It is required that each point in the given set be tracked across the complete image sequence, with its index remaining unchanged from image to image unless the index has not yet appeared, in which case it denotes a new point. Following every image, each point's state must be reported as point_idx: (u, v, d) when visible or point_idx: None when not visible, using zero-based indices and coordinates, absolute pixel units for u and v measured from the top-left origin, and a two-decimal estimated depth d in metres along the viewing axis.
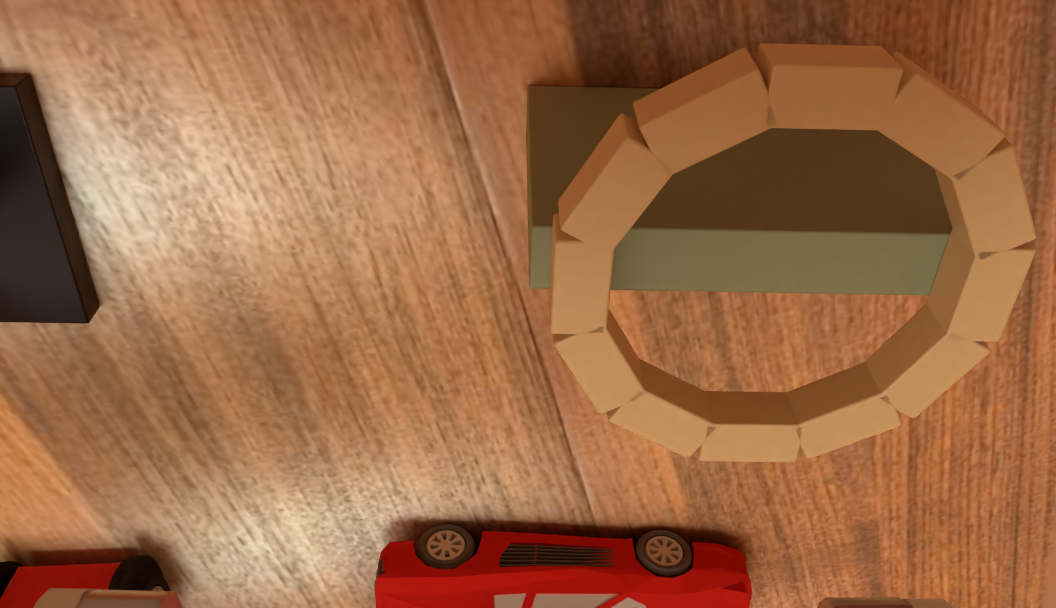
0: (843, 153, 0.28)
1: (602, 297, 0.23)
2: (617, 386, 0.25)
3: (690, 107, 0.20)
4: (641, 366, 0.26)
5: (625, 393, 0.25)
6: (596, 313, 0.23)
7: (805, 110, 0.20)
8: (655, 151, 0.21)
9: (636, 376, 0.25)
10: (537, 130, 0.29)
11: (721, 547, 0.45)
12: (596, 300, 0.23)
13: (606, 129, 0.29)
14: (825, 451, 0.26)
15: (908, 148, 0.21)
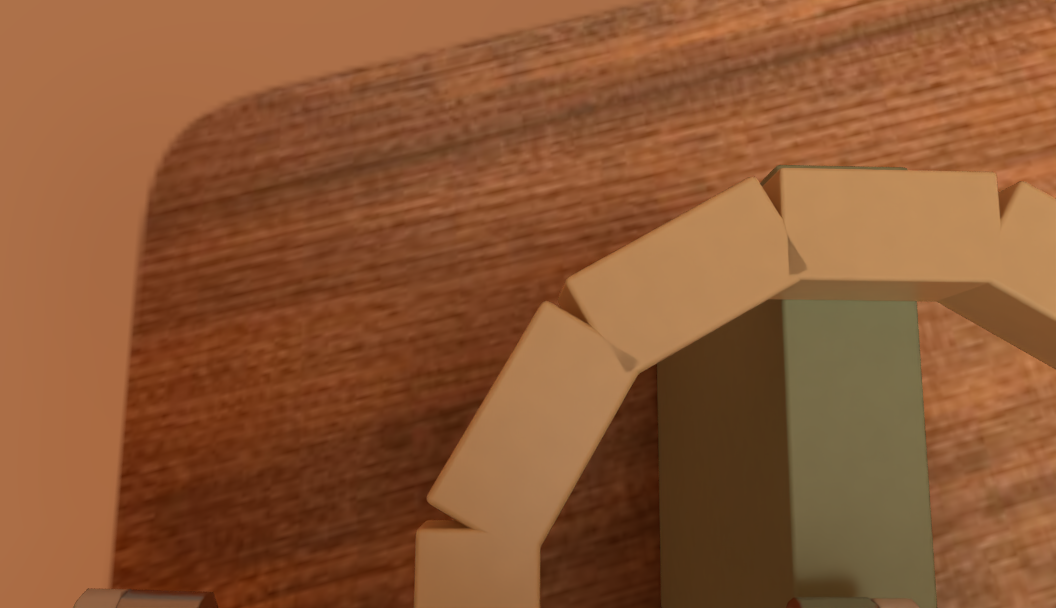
0: (705, 412, 0.17)
1: None
2: None
3: None
4: None
5: None
6: None
7: None
8: None
9: None
10: None
11: None
12: None
13: None
14: None
15: (574, 478, 0.11)
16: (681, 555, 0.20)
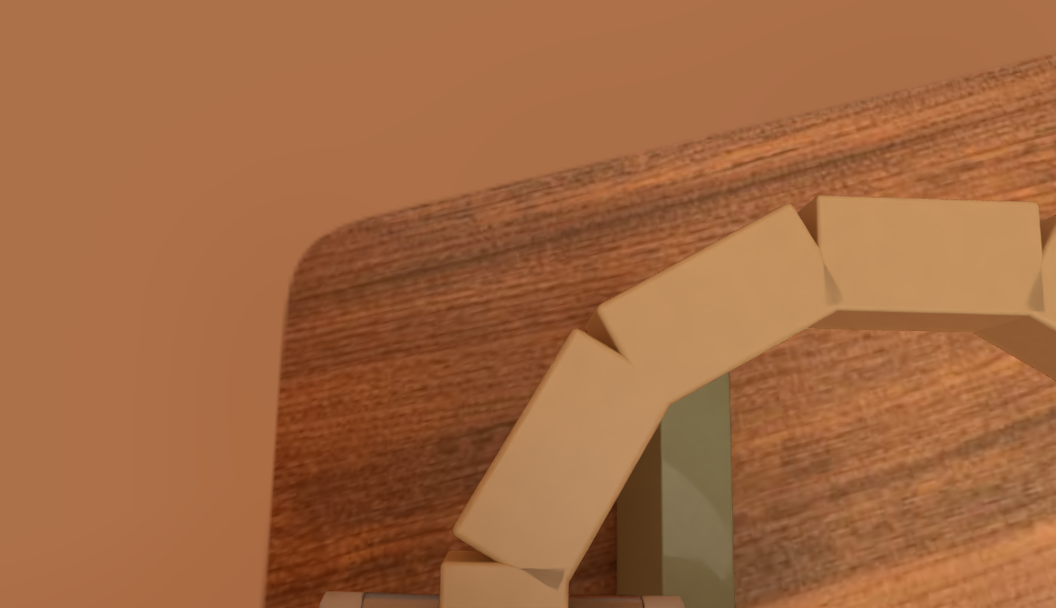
0: None
1: None
2: None
3: None
4: None
5: None
6: None
7: None
8: None
9: None
10: None
11: None
12: None
13: None
14: None
15: (604, 511, 0.11)
16: (625, 520, 0.32)
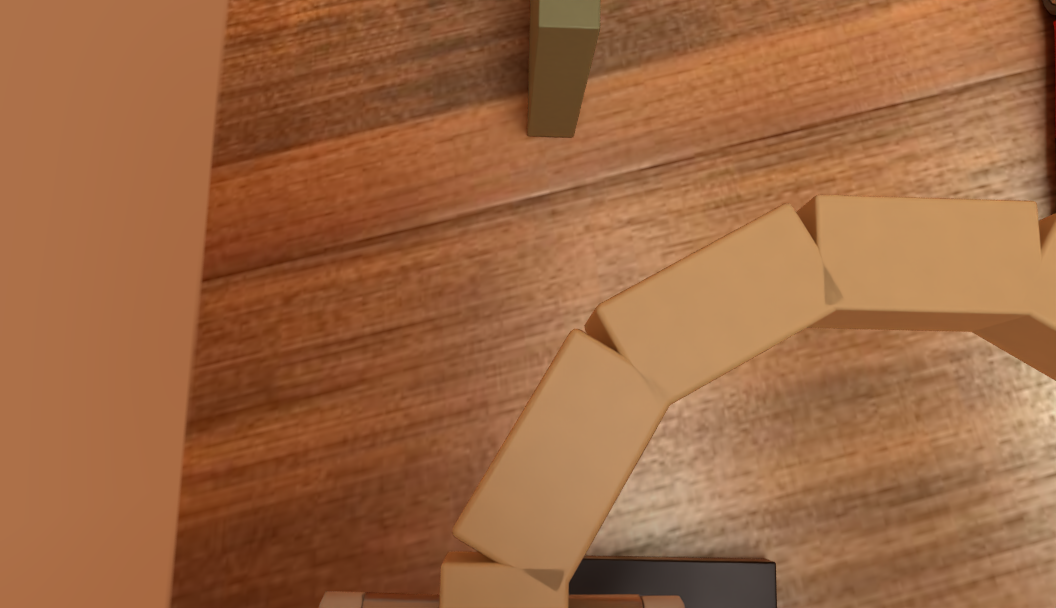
0: None
1: None
2: None
3: None
4: None
5: None
6: None
7: None
8: None
9: None
10: None
11: None
12: None
13: None
14: None
15: (604, 511, 0.11)
16: None
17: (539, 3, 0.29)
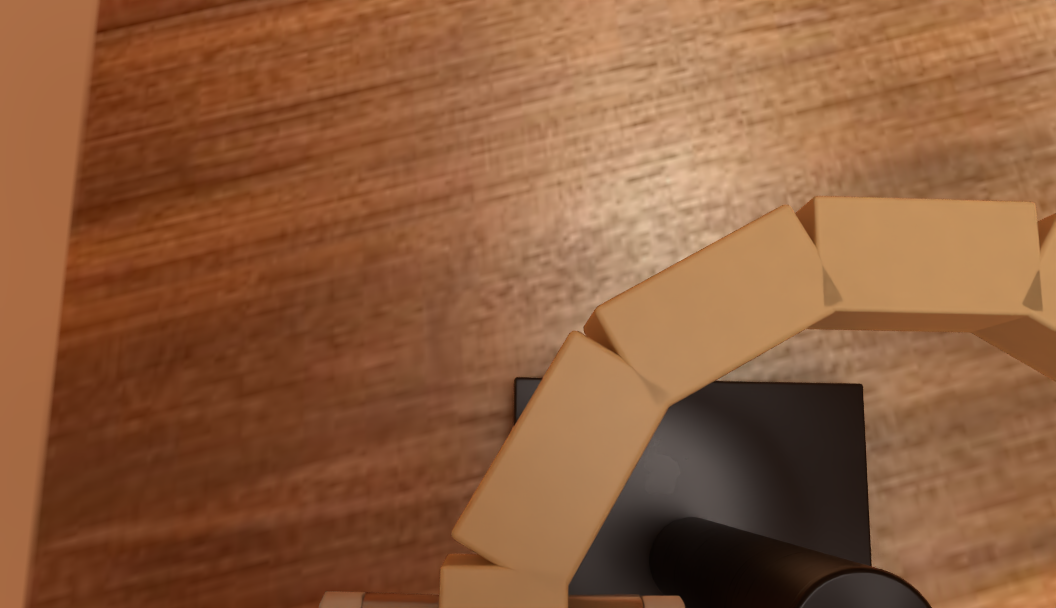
0: None
1: None
2: None
3: None
4: None
5: None
6: None
7: None
8: None
9: None
10: None
11: None
12: None
13: None
14: None
15: (603, 514, 0.11)
16: None
17: None
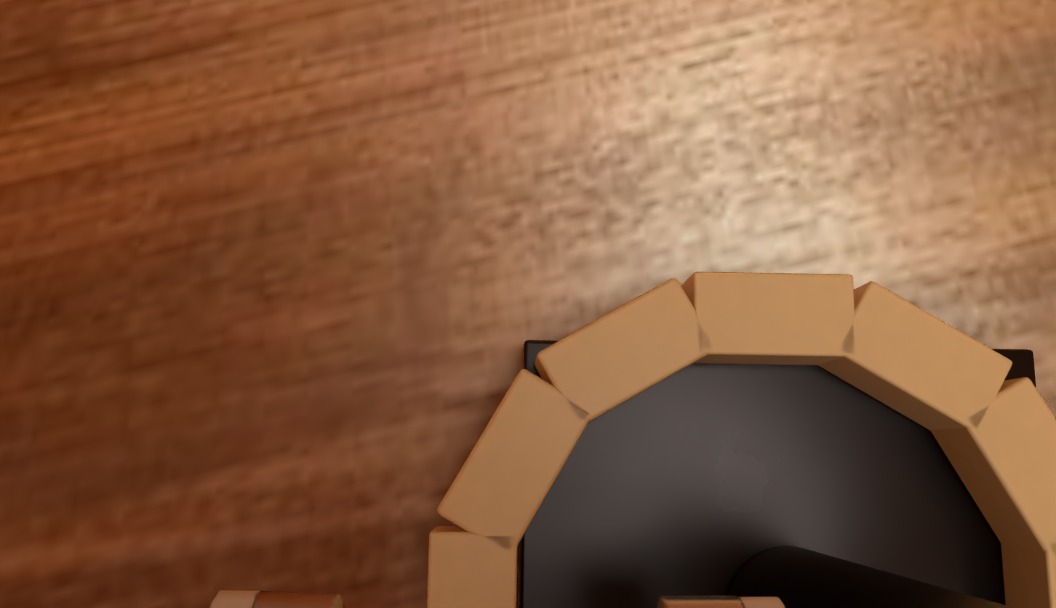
0: None
1: None
2: None
3: None
4: None
5: None
6: None
7: None
8: None
9: None
10: None
11: None
12: None
13: None
14: None
15: (541, 496, 0.15)
16: None
17: None
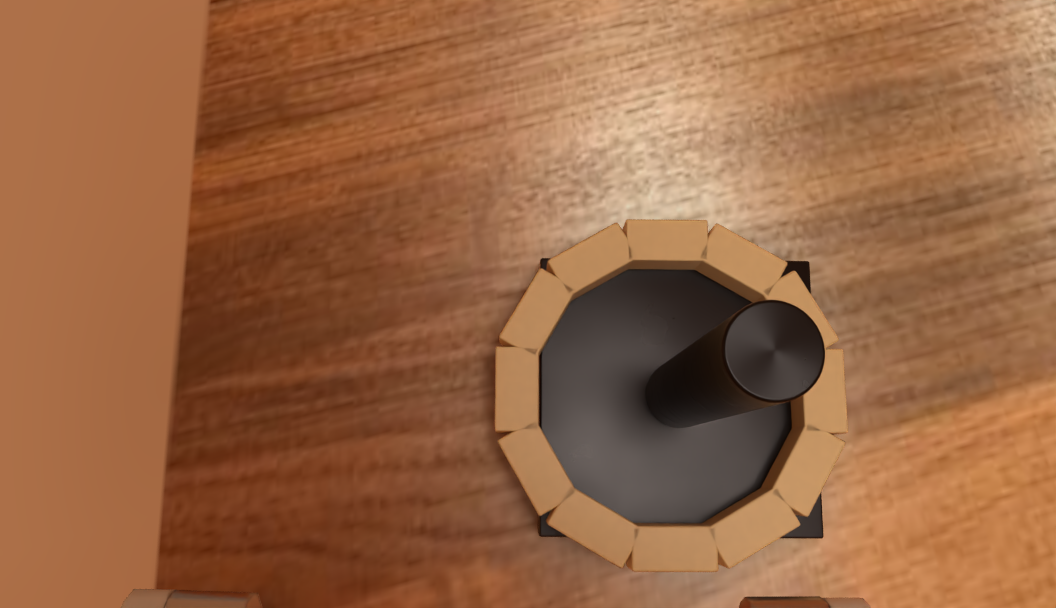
0: None
1: (680, 531, 0.30)
2: (768, 512, 0.30)
3: (524, 482, 0.30)
4: (765, 486, 0.32)
5: (775, 504, 0.30)
6: (695, 535, 0.30)
7: (524, 404, 0.31)
8: (557, 502, 0.30)
9: (758, 496, 0.30)
10: None
11: None
12: (684, 536, 0.30)
13: None
14: (827, 326, 0.31)
15: (550, 329, 0.31)
16: None
17: None
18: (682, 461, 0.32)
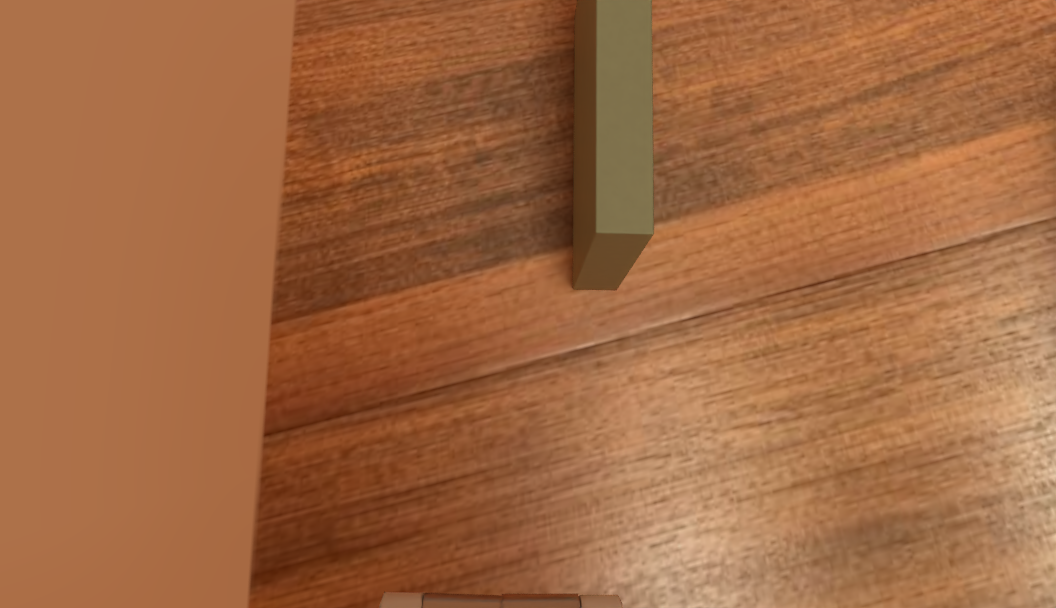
0: (583, 32, 0.37)
1: None
2: None
3: None
4: None
5: None
6: None
7: None
8: None
9: None
10: (579, 264, 0.37)
11: None
12: None
13: (579, 212, 0.37)
14: None
15: None
16: (578, 123, 0.39)
17: (596, 209, 0.31)
18: None
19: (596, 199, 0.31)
